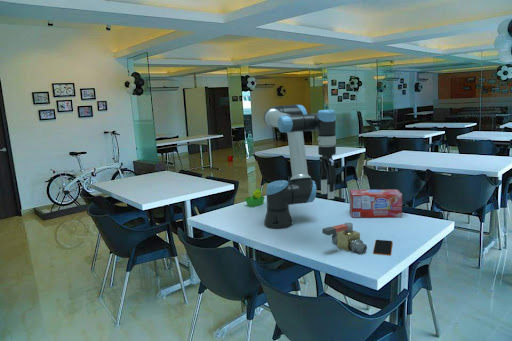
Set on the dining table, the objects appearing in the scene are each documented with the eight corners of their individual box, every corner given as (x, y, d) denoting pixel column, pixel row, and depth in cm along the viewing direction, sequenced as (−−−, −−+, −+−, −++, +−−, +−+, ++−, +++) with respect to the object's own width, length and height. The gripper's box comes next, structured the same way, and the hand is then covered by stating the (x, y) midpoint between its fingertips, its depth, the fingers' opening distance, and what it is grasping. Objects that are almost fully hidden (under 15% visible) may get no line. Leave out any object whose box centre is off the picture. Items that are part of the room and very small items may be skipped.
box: (397, 211, 228) (397, 188, 225) (402, 218, 215) (403, 193, 212) (348, 211, 231) (348, 189, 229) (351, 218, 218) (351, 194, 216)
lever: (322, 236, 171) (322, 228, 171) (348, 229, 179) (348, 222, 178) (327, 239, 168) (327, 230, 168) (354, 232, 176) (354, 224, 175)
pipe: (329, 245, 184) (329, 228, 182) (341, 241, 187) (340, 225, 186) (356, 257, 168) (356, 239, 167) (368, 254, 172) (369, 235, 170)
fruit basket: (257, 202, 260) (256, 185, 258) (267, 204, 254) (266, 187, 251) (244, 206, 252) (243, 188, 250) (254, 208, 246) (253, 190, 244)
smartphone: (372, 254, 169) (372, 253, 169) (375, 241, 185) (375, 239, 184) (391, 256, 167) (391, 254, 166) (392, 242, 182) (392, 240, 182)
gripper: (311, 143, 182) (312, 191, 186) (326, 149, 161) (327, 202, 166) (327, 142, 183) (327, 190, 187) (344, 148, 163) (344, 201, 167)
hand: (327, 196), depth 176 cm, fingers open, 8 cm apart
